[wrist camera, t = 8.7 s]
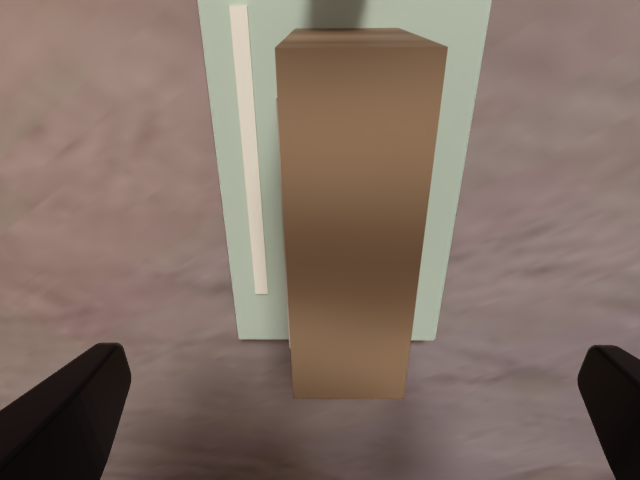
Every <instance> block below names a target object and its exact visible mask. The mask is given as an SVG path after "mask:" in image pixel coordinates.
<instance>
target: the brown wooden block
mask: <svg viewBox="0 0 640 480" xmlns="http://www.w3.org/2000/svg"><path fill="white" fill-rule="evenodd" d="M447 51H448V47H447V46H445V45H442V44H439V43H437V42H434V41H432V40H429V39H426V38H424V37H421V36H418V35H416V34H413V33H411V32H408V31H405V30H403V29H400V28H295V29H294V30H293V31H292V32H291V33H290V34H289V35H288V36H287V37H286V38H285V39H284V40H282V41H281V42H280V43H279V44H278V45H277V46H276V47H275V63H276V82H277V98H276V114H277V133H278V151H279V169H280V187H281V206H282V224H283V242H284V260H285V279H286V297H287V315H288V333H289V348H291V366H292V384H293V398H316V399H404V393H405V385H406V377H407V369H408V361H409V353H410V345H411V337H412V329H413V321H414V313H415V305H416V297H417V289H418V282H419V274H420V266H421V258H422V250H423V242H424V234H425V226H426V218H427V210H428V202H429V194H430V186H431V178H432V170H433V162H434V154H435V146H436V138H437V131H438V123H439V115H440V107H441V99H442V91H443V83H444V75H445V67H446V59H447Z"/></svg>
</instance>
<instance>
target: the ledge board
mask: <svg viewBox="0 0 640 480" xmlns="http://www.w3.org/2000/svg"><path fill="white" fill-rule="evenodd" d="M491 2H492V0H198V8H199V16H200V24H201V33H202V41H203V49H204V57H205V65H206V74H207V82H208V90H209V98H210V107H211V115H212V123H213V131H214V139H215V148H216V156H217V164H218V172H219V180H220V189H221V197H222V205H223V213H224V221H225V230H226V238H227V246H228V254H229V263H230V271H231V279H232V287H233V295H234V304H235V312H236V320H237V328H238V336H239V339H289V333H288V315H287V297H286V279H285V260H284V242H283V224H282V206H281V187H280V169H279V151H278V133H277V114H276V98H277V82H276V63H275V47H276V46H277V45H278V44H279V43H280V42H281V41H282V40H284V39H285V38H286V37H287V36H288V35H289V34H290V33H291V32H292V31H293V30H294V29H295V28H400V29H403V30H405V31H408V32H411V33H413V34H416V35H418V36H421V37H424V38H426V39H429V40H432V41H434V42H437V43H439V44H442V45H445V46H447V47H448V51H447V59H446V67H445V75H444V83H443V91H442V99H441V107H440V115H439V123H438V131H437V138H436V146H435V154H434V162H433V170H432V178H431V186H430V194H429V202H428V210H427V218H426V226H425V234H424V242H423V250H422V258H421V266H420V274H419V282H418V289H417V297H416V305H415V313H414V321H413V329H412V337H411V340H435V336H436V330H437V324H438V318H439V312H440V306H441V300H442V295H443V289H444V283H445V277H446V271H447V265H448V259H449V253H450V247H451V241H452V235H453V229H454V223H455V217H456V211H457V205H458V199H459V193H460V187H461V181H462V175H463V169H464V163H465V157H466V151H467V145H468V139H469V133H470V127H471V122H472V116H473V110H474V104H475V98H476V92H477V86H478V80H479V74H480V68H481V62H482V56H483V50H484V44H485V38H486V32H487V26H488V20H489V14H490V8H491Z"/></svg>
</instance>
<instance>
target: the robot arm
mask: <svg viewBox="0 0 640 480" xmlns="http://www.w3.org/2000/svg"><path fill="white" fill-rule="evenodd" d="M130 384H131V372H130V368H129V365H128V362H127V358H126V355H125V351H124V348H123V346H122V345H121V344H120V343H98V344H96V345H94V346H93V347H91V348H90V349H88V350H87V351H85V352H84V353H83V354H81V355H80V356H78V357H77V358H75V359H74V360H72V361H71V362H70V363H68V364H67V365H65V366H64V367H62V368H61V369H60V370H58V371H57V372H55V373H54V374H52V375H51V376H49V377H48V378H47V379H45V380H44V381H42V382H41V383H39V384H38V385H36V386H35V387H34V388H32V389H31V390H29V391H28V392H26V393H25V394H24V395H22V396H21V397H19V398H18V399H16V400H15V401H13V402H12V403H11V404H9V405H8V406H6V407H5V408H3V409H2V410H0V480H100V478H101V476H102V473H103V471H104V468H105V465H106V463H107V460H108V457H109V454H110V451H111V448H112V444H113V441H114V438H115V435H116V431H117V428H118V425H119V421H120V418H121V415H122V411H123V408H124V405H125V401H126V398H127V395H128V391H129V388H130ZM578 387H579V390H580V393H581V395H582V398H583V400H584V403H585V406H586V408H587V411H588V413H589V416H590V418H591V421H592V423H593V426H594V429H595V431H596V434H597V436H598V439H599V441H600V444H601V446H602V449H603V451H604V454H605V456H606V459H607V461H608V463H609V466H610V468H611V470H612V472H613V474H614V476H615V478H616V480H640V360H639V359H638V358H636V357H634V356H633V355H631V354H629V353H628V352H626V351H624V350H623V349H621V348H619V347H617V346H614V345H594V346H591V347H590V348H589V350H588V351H587V354H586V356H585V359H584V361H583V364H582V366H581V369H580V371H579V374H578Z"/></svg>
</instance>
